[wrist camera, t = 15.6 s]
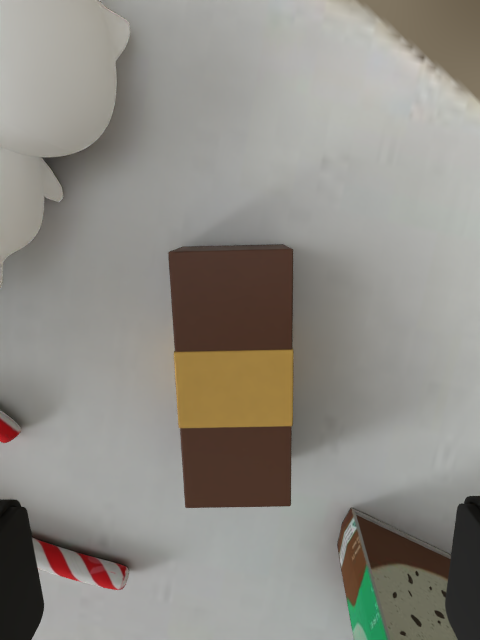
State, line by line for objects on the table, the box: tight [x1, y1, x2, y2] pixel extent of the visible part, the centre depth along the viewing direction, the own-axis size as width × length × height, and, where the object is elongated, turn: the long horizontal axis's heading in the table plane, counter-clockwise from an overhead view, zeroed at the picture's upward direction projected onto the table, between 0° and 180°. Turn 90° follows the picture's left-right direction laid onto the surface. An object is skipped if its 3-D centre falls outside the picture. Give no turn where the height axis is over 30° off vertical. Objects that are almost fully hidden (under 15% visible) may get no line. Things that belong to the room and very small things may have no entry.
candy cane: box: [0, 411, 129, 590], centre depth 22 cm, size 8×1×15 cm
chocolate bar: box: [168, 244, 294, 508], centre depth 19 cm, size 5×12×4 cm, turn 1°
